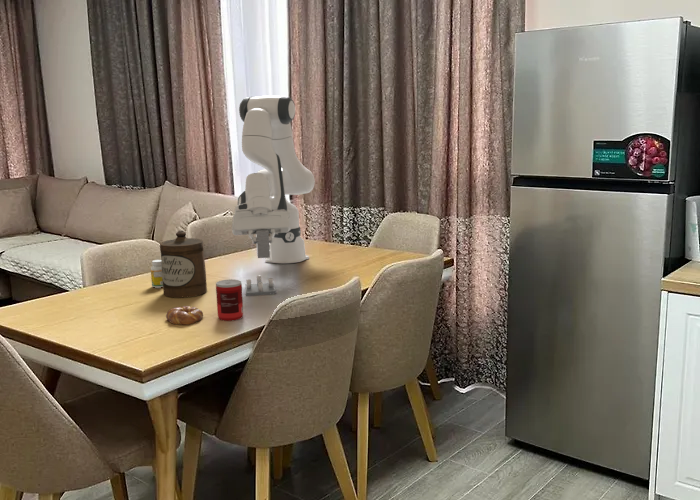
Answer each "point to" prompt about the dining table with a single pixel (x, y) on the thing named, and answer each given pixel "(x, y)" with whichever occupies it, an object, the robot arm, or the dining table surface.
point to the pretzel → (184, 315)
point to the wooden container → (183, 267)
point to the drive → (263, 243)
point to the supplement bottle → (156, 274)
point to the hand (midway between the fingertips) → (262, 242)
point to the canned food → (229, 299)
